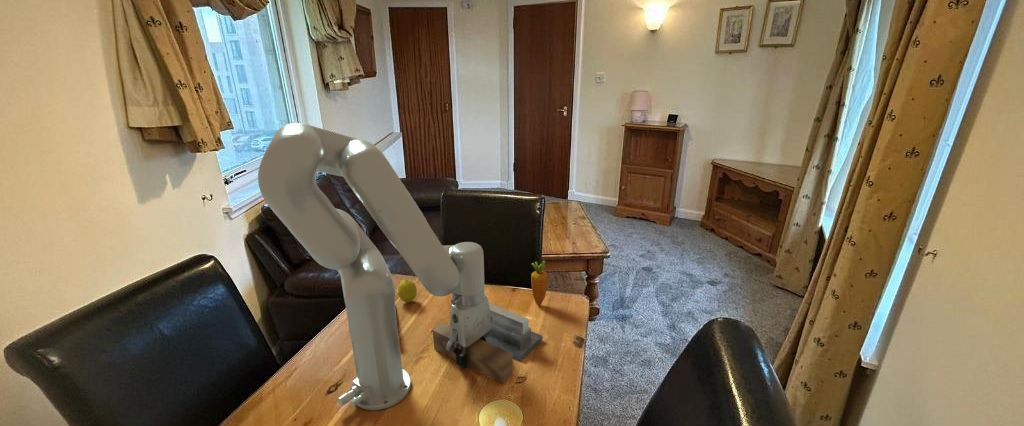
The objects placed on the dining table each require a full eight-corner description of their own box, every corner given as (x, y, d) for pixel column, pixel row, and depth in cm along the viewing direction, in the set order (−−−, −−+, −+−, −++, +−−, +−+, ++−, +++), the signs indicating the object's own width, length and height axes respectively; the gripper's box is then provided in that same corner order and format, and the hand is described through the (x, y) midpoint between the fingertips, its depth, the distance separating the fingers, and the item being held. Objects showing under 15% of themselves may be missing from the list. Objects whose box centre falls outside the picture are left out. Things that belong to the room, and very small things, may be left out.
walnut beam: (512, 374, 96) (512, 353, 94) (502, 384, 93) (502, 363, 91) (445, 341, 108) (443, 322, 106) (434, 349, 105) (432, 330, 103)
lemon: (421, 301, 127) (419, 278, 124) (408, 309, 123) (406, 285, 120) (408, 296, 130) (406, 273, 127) (395, 304, 125) (393, 281, 123)
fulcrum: (520, 361, 100) (520, 333, 98) (461, 332, 111) (459, 307, 109) (542, 340, 108) (542, 314, 105) (484, 315, 119) (483, 291, 116)
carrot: (528, 308, 123) (529, 263, 118) (532, 300, 127) (533, 256, 122) (545, 311, 121) (546, 265, 116) (548, 302, 126) (549, 258, 121)
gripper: (454, 317, 86) (458, 385, 92) (503, 284, 99) (504, 345, 105) (429, 306, 90) (435, 372, 96) (480, 275, 103) (482, 335, 109)
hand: (471, 357), depth 100 cm, fingers open, 6 cm apart
